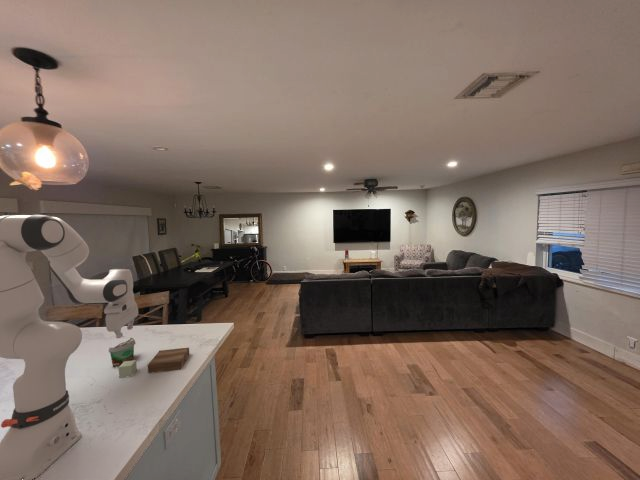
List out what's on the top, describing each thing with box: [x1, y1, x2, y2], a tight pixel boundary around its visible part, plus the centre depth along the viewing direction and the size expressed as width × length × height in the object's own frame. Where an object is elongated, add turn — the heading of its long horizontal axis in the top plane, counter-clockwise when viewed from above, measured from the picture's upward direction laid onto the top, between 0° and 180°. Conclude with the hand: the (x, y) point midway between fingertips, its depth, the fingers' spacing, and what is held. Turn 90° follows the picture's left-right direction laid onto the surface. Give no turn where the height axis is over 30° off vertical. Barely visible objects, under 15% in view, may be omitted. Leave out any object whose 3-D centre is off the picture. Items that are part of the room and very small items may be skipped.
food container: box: [108, 337, 136, 368], centre depth 133 cm, size 12×6×10 cm, turn 168°
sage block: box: [118, 359, 138, 379], centre depth 122 cm, size 5×5×5 cm
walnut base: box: [147, 347, 190, 374], centre depth 130 cm, size 14×14×4 cm
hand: (125, 333), depth 121 cm, fingers open, 8 cm apart
